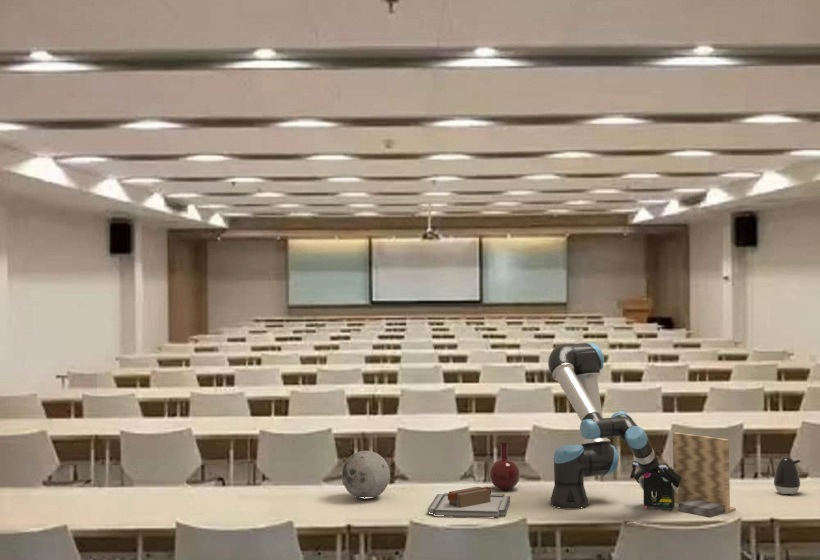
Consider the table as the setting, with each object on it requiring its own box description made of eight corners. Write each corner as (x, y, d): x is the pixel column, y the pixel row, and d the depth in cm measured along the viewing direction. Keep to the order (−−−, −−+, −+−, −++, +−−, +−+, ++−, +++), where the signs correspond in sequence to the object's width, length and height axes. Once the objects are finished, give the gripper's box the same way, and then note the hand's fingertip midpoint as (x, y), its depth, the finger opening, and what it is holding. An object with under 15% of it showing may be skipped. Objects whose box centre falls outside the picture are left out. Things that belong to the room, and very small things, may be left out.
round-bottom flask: (483, 490, 432) (482, 443, 432) (501, 485, 442) (500, 439, 442) (508, 494, 424) (507, 447, 424) (526, 488, 434) (525, 442, 434)
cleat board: (658, 506, 396) (657, 436, 396) (682, 500, 406) (681, 431, 406) (712, 517, 378) (710, 443, 378) (735, 510, 388) (734, 438, 388)
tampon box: (643, 508, 394) (642, 471, 394) (646, 503, 402) (646, 467, 402) (672, 510, 390) (671, 473, 390) (674, 505, 398) (674, 468, 398)
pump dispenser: (798, 497, 408) (797, 460, 407) (771, 494, 413) (771, 457, 413) (803, 492, 416) (802, 455, 416) (776, 489, 422) (776, 453, 422)
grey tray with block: (504, 520, 383) (504, 500, 383) (427, 518, 388) (426, 498, 388) (510, 502, 412) (510, 483, 412) (438, 500, 418) (438, 482, 418)
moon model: (391, 493, 431) (390, 446, 430) (388, 503, 411) (387, 455, 410) (344, 493, 431) (343, 447, 431) (340, 504, 411) (339, 455, 411)
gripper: (612, 462, 390) (628, 493, 403) (674, 468, 376) (689, 500, 389) (617, 446, 395) (633, 477, 407) (679, 452, 381) (693, 484, 393)
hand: (660, 488), depth 398 cm, fingers open, 13 cm apart
